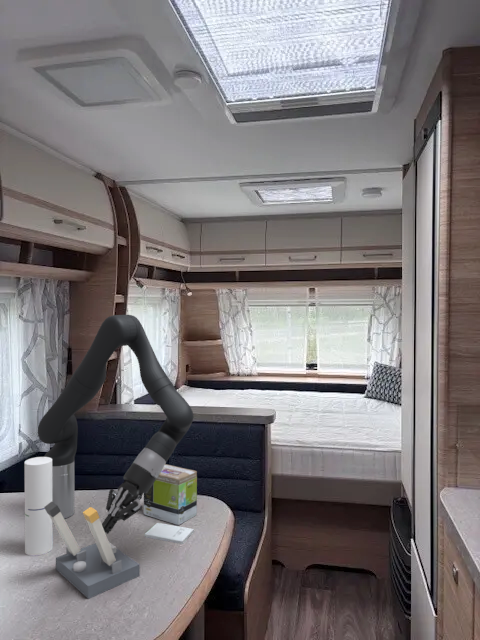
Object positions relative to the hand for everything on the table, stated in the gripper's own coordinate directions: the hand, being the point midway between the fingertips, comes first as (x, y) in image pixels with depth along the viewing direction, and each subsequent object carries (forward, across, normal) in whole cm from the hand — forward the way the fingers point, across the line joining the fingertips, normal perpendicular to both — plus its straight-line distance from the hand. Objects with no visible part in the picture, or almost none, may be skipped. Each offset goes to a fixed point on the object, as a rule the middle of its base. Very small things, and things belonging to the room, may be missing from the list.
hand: (103, 531), depth 120 cm
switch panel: (+8, -5, +10) cm, 14 cm away
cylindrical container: (+12, -27, +6) cm, 31 cm away
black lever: (+8, -11, +5) cm, 14 cm away
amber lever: (+5, 0, +8) cm, 9 cm away
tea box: (-15, -20, +34) cm, 43 cm away
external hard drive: (-9, -9, +29) cm, 32 cm away
